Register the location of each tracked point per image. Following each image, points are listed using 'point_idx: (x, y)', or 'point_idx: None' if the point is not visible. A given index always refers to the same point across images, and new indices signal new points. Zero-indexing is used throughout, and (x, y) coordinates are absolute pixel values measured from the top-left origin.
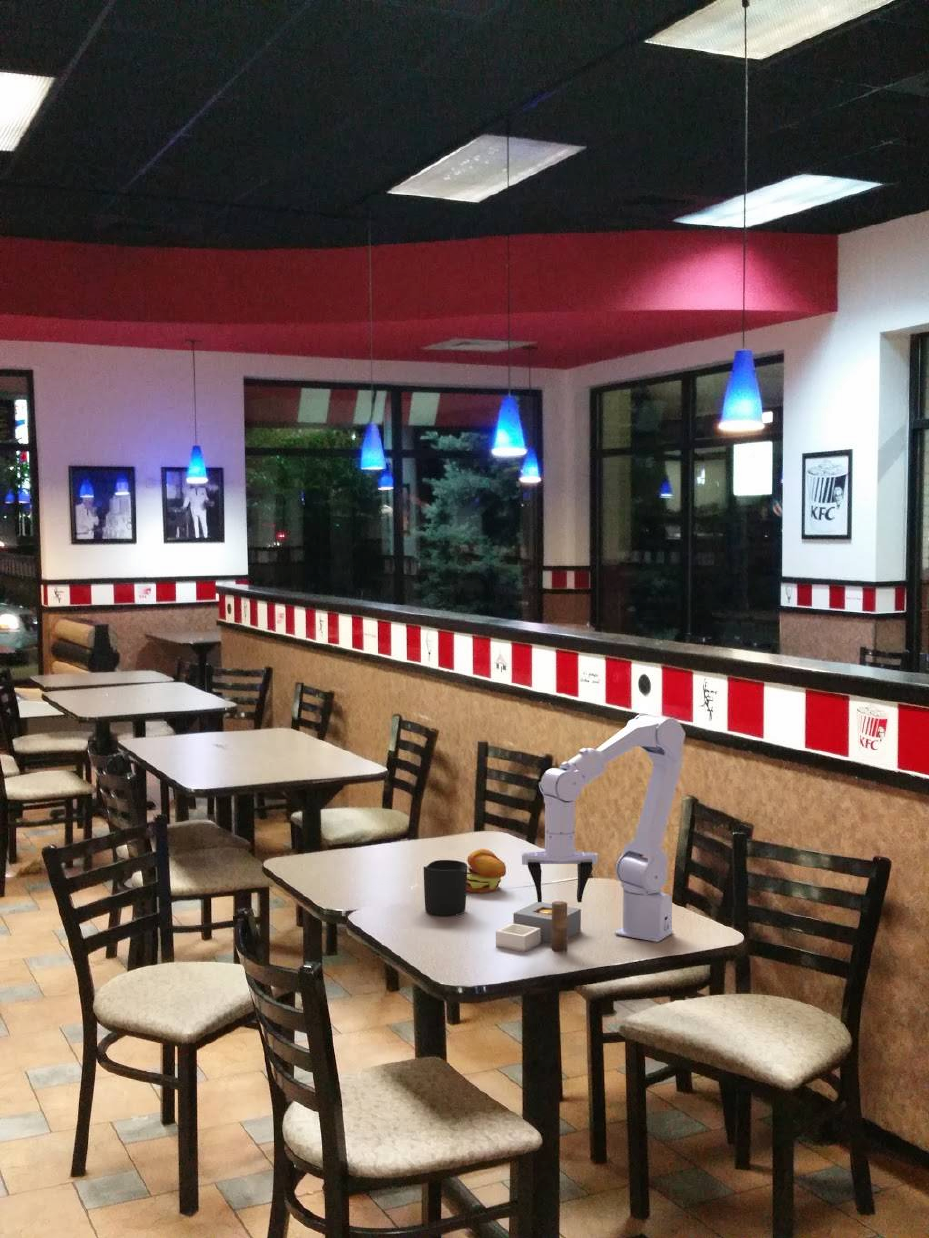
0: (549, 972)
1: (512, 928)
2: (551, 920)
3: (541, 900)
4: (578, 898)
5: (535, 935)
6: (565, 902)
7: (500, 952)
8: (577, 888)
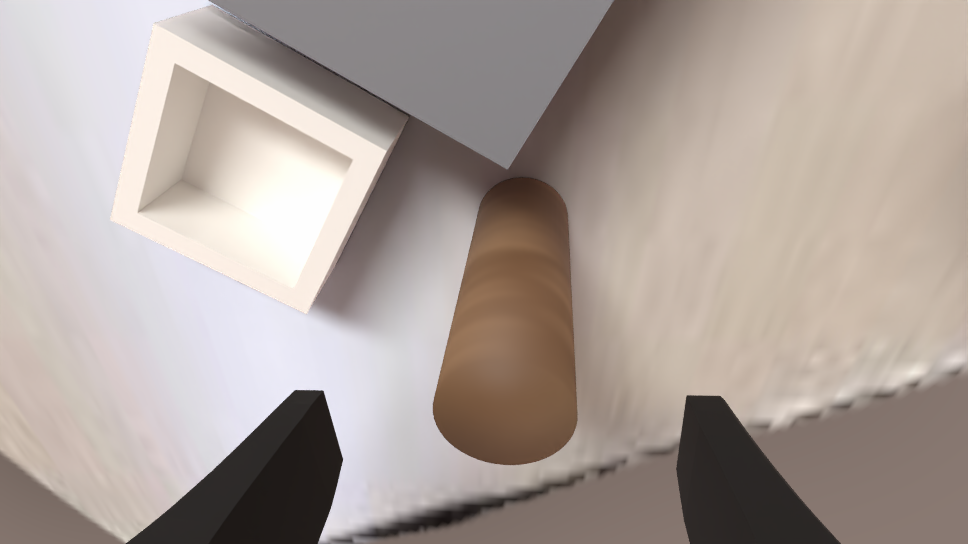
0: (468, 484)
1: (184, 72)
2: (459, 138)
3: (336, 477)
4: (685, 509)
5: (366, 196)
6: (562, 397)
7: None
8: (719, 490)
